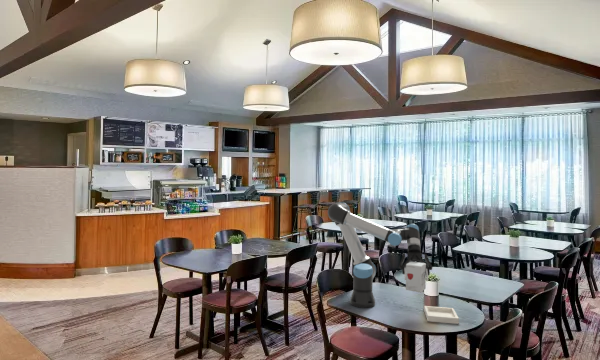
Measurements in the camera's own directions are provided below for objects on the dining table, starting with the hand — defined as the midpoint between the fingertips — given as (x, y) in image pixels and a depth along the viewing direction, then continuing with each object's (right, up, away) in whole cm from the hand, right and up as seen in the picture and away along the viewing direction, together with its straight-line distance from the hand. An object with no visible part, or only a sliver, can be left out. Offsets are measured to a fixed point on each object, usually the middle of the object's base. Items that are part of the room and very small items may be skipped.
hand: (416, 279), depth 222 cm
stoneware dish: (+13, -21, -2) cm, 25 cm away
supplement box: (0, -6, +2) cm, 7 cm away
